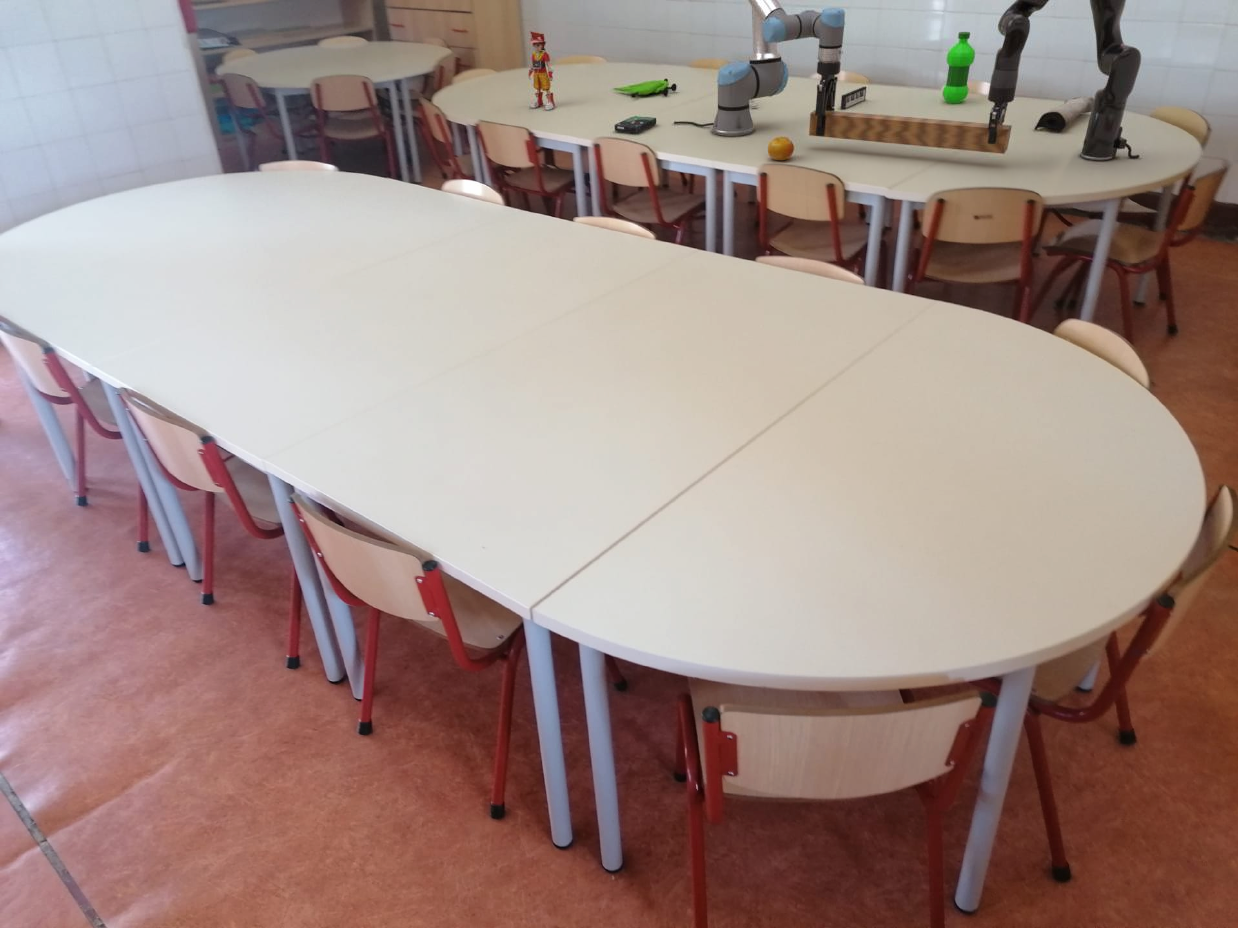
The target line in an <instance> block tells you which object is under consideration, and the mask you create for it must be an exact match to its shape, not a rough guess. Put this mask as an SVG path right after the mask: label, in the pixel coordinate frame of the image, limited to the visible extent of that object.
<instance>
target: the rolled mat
mask: <svg viewBox="0 0 1238 928" xmlns="http://www.w3.org/2000/svg"><path fill="white" fill-rule="evenodd" d="M1093 102H1094V97H1093V96H1077V97H1071V98H1068V99H1066V100H1065V101H1064V102H1063V103H1062V104H1059V105H1058V106H1056V107H1054V108H1052V109H1049V111H1047V112H1045V113H1043V114H1042V115H1041V116H1040V117H1039V119H1038V121H1037V122H1036V125H1035V127H1034V130H1036V131H1037V130H1038V129H1043V128H1044V129H1046V130H1047V131H1048V132H1054V133H1061V132H1063V131H1064V130H1065V129H1066V128H1067V127H1068V126H1069V125H1071V123H1072V122H1073V121H1075V119H1077V118H1078V117H1080V115H1082V114H1087V113H1088V114H1089V113H1091V111H1092V106H1093Z"/></svg>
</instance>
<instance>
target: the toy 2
mask: <svg viewBox="0 0 1238 928" xmlns="http://www.w3.org/2000/svg"><path fill="white" fill-rule="evenodd" d="M669 85H670V83H669V79H668V78H664V79H663V80H649V81H644V82H640V83H634V84H629V85H627V86H621V87H613V88H612V89H613V90H616V91H619V92H623V93H627V94H628V93H629V94H631V95H630V96H631V98H632V99H634V98H636V96H637V95H650V94H652V93H654V94H658V93H662V95H663V96H665V97H667V96H668V95H669V90H671V91H672V92H676V91H677V84H676V83H672V84H671V86H669Z"/></svg>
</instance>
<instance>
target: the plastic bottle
mask: <svg viewBox="0 0 1238 928" xmlns="http://www.w3.org/2000/svg"><path fill="white" fill-rule="evenodd" d="M970 36H971V32H970V31H959V32H958V36H957V39H958V42H957V43H956V44H954V45H953V46H952V47H951V48H950V49H949V50H948V52H947V54H946V63H947V64H948V69H947V70H948V71H947V76H946V77H947V78H946V84H945V85H944V87H943V90H942V97H943V99H944V100H945V101H946V102H947V103H948V104H960V103H961V102H963V101H964V100H966V98H967V96H968V95H969V85H968V79H969V73H970V67H971V65H972V64H973V63H974V61H975V57H976V51H975V49H974V47H972V45H971V44H970V43H969V42H968V41H969V39H970V38H971V37H970Z"/></svg>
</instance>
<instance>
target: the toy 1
mask: <svg viewBox="0 0 1238 928" xmlns="http://www.w3.org/2000/svg"><path fill="white" fill-rule="evenodd" d="M529 33H530V35H531V36H528V37H527V38H528V39H529V40H528V41H527V43H529V44H530V43H531V44H532V48H533V50H534V51H533V52H532V55H531V58H530V59H531V63H530V66H528V74H527V75H528V76H527V77H528V79H529V80H531V75H532V74H533V84H532V85H533V86H532V87H533V88H534V89H535V90H536V92H534V95H535V97H536V100H535V101H533V102H531V105H530V108H531V109H535V108H538V107H542V106H544V101H543V100H544V99H543V95H544V92H546V94H545V97H546V99H547V103H546V104H545V106H544V110H546V111H549V110H553V109H554V107H555V106H556V105H555V99H554V92H551V91H550V90H551V86H552V84H551V82H552V81H553V80H554V77H553V73H554V71H555V70H554V69H552V68H551V63H550V61H551V59H550V58H551V57H550V54H549V53H548V52H547V50H546V48H545V46H546V44H547V41H545V35H544V33H543V32H542V33H539V32H535V31H529Z"/></svg>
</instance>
